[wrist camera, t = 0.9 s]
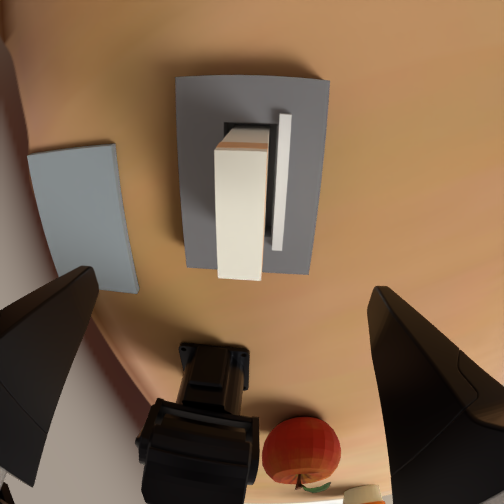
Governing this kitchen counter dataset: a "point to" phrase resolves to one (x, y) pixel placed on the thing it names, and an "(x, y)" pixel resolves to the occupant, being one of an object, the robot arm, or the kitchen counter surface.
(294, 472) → the fruit
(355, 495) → the reusable coffee cup
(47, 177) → the mat
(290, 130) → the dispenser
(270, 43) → the kitchen counter surface
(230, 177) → the tan banded white slab
